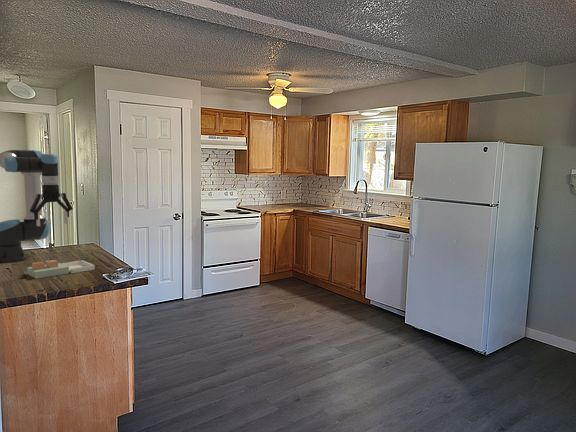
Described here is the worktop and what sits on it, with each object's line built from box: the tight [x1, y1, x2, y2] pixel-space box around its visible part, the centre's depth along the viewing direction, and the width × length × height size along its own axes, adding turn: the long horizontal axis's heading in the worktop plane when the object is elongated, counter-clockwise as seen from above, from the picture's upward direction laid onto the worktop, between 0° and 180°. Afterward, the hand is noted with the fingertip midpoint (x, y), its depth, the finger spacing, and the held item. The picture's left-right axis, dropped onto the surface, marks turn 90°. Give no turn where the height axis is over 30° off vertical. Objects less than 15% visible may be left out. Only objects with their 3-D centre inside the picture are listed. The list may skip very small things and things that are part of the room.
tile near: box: [31, 261, 46, 270], centre depth 225 cm, size 4×4×3 cm
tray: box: [60, 259, 96, 275], centre depth 239 cm, size 16×13×2 cm
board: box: [26, 262, 70, 280], centre depth 228 cm, size 13×16×4 cm
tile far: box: [45, 259, 59, 268], centre depth 229 cm, size 4×4×3 cm
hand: (52, 224), depth 227 cm, fingers open, 13 cm apart
